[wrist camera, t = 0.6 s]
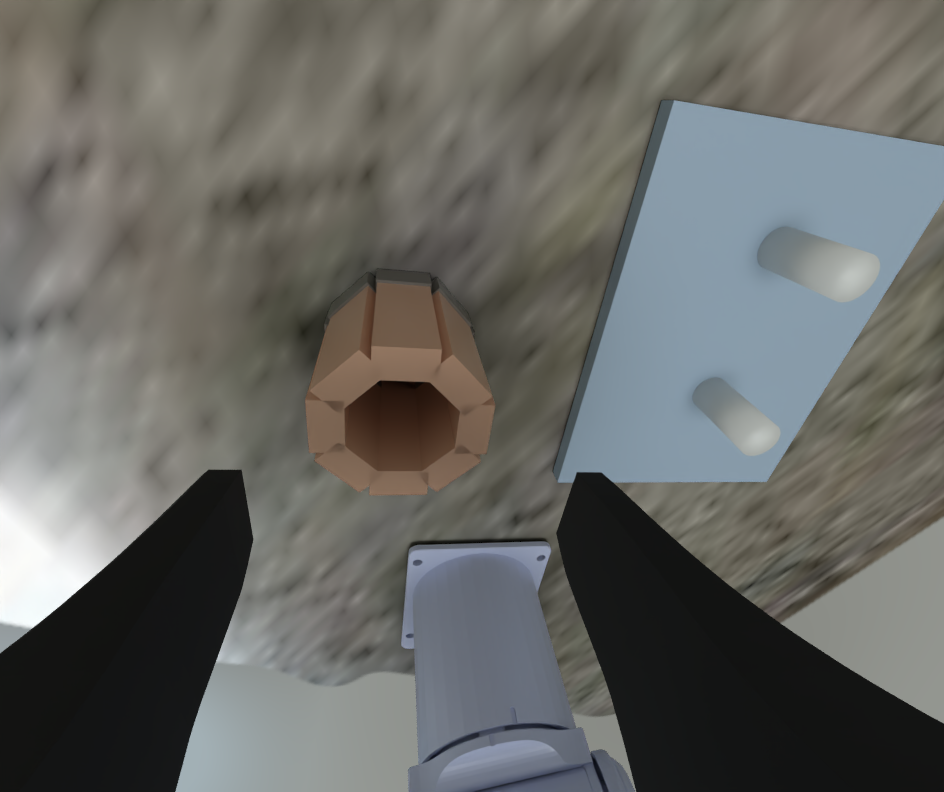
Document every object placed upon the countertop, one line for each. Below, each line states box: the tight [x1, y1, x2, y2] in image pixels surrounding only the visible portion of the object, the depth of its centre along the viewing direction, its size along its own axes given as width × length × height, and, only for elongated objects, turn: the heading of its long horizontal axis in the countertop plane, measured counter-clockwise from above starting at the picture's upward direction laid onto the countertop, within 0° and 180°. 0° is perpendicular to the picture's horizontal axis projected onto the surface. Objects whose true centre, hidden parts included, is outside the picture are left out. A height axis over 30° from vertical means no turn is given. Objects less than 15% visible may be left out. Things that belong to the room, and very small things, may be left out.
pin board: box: [553, 100, 944, 483], centre depth 18 cm, size 16×12×4 cm
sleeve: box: [305, 269, 495, 495], centre depth 16 cm, size 5×5×6 cm
